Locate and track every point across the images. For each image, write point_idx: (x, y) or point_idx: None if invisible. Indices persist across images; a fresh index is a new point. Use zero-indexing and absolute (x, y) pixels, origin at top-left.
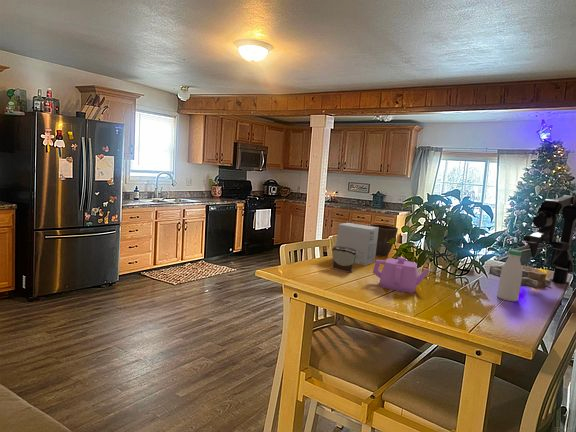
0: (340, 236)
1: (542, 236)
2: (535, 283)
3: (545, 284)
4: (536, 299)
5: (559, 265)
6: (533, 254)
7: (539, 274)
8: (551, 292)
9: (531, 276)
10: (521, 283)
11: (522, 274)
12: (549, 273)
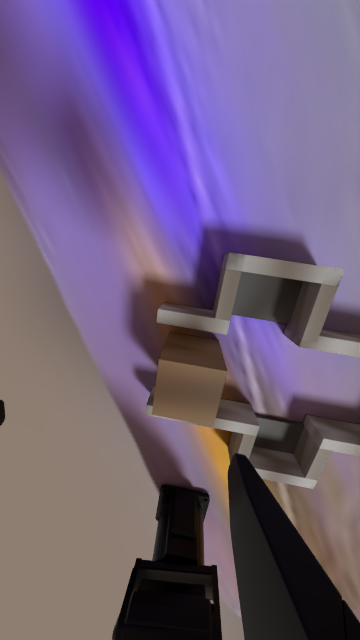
0: None
1: None
2: (163, 307)
3: None
4: (10, 11)
5: (169, 591)
6: (245, 502)
7: (159, 358)
8: (93, 297)
9: (207, 354)
10: (219, 277)
11: (297, 455)
12: None
